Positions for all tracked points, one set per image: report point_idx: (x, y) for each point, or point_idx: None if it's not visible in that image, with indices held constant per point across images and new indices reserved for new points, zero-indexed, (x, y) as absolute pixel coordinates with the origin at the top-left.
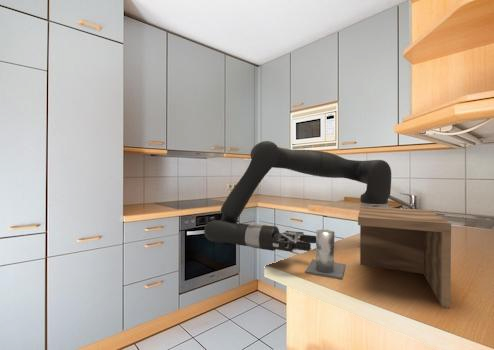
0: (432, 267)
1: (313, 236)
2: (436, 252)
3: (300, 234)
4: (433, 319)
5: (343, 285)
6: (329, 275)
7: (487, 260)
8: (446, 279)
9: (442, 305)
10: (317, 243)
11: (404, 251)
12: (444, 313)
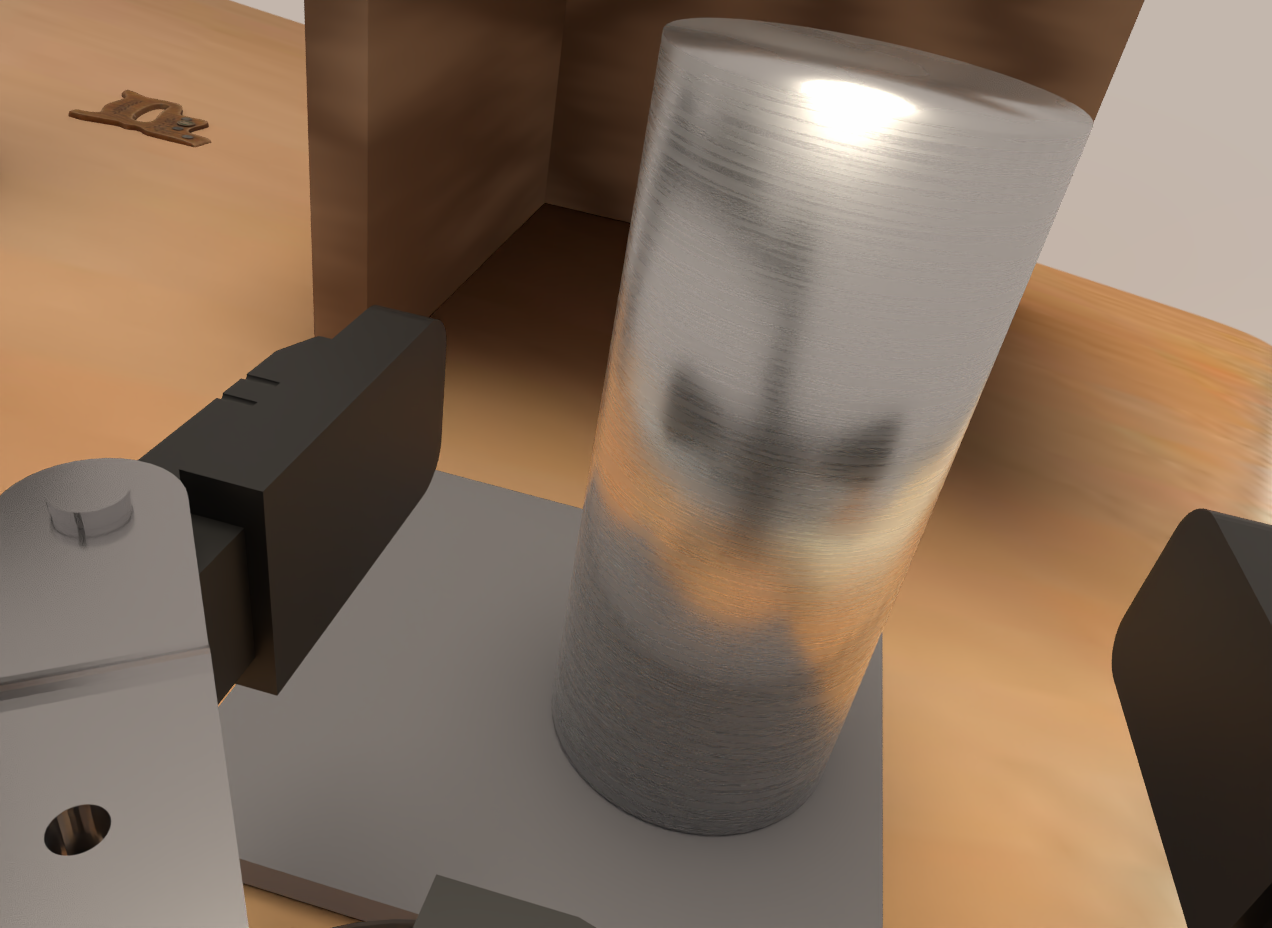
0: None
1: (418, 341)
2: (979, 7)
3: (172, 573)
4: (1195, 382)
5: (1028, 633)
6: (879, 698)
7: (298, 25)
8: None
9: None
10: (926, 415)
11: (523, 79)
12: (1086, 331)
